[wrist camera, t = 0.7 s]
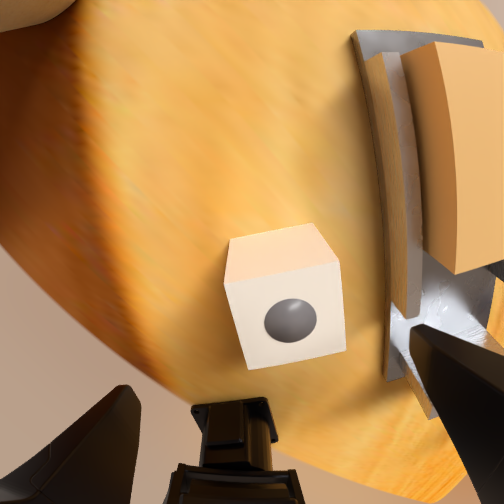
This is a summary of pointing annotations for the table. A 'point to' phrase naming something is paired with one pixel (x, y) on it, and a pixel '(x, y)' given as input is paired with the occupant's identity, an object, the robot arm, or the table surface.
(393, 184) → the press frame
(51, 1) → the plant pot
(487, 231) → the block
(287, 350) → the block
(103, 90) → the table surface
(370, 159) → the table surface
